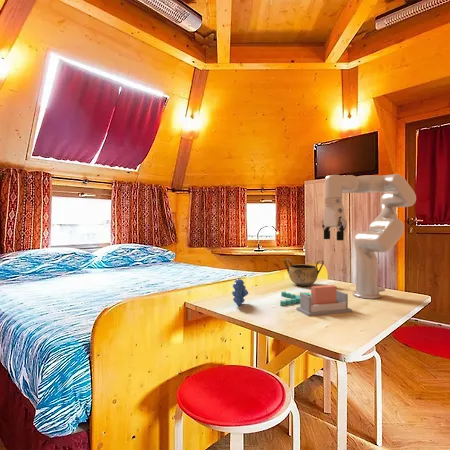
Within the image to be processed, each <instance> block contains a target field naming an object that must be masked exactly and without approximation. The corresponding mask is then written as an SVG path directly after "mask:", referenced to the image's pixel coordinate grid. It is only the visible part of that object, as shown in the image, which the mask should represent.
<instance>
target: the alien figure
mask: <svg viewBox="0 0 450 450" xmlns="http://www.w3.org/2000/svg"><path fill="white" fill-rule="evenodd" d="M280 293H281V295H280V297H285V298H288V299H285V300H280V307H286V306H291V305H296V304H300V295H297V294H294V293H291V292H287V291H281V292H280ZM300 293H303V294H305V295H308V296H310V297H311V293H310V292H299V294H300ZM289 298H290V299H289Z"/></svg>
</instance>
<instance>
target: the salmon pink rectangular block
mask: <svg viewBox="0 0 450 450" xmlns="http://www.w3.org/2000/svg"><path fill="white" fill-rule="evenodd" d="M310 286H311V287H310V288H311V289H310V291H311V292H310V294H311V305H318V304H329V303H337V291H338V290H337V287H338V286H336V285H333V284H328V285H313V286H312V285H310Z"/></svg>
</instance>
